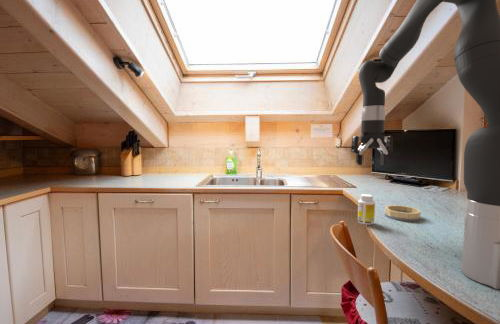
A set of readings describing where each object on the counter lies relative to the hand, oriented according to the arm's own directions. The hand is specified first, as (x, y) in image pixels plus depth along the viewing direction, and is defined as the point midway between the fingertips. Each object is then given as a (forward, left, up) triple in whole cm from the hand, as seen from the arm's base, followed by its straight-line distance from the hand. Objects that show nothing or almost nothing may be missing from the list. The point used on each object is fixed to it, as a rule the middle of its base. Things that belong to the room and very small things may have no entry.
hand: (371, 165), depth 95 cm
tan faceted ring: (+5, -16, -21) cm, 27 cm away
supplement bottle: (-1, +2, -21) cm, 21 cm away
